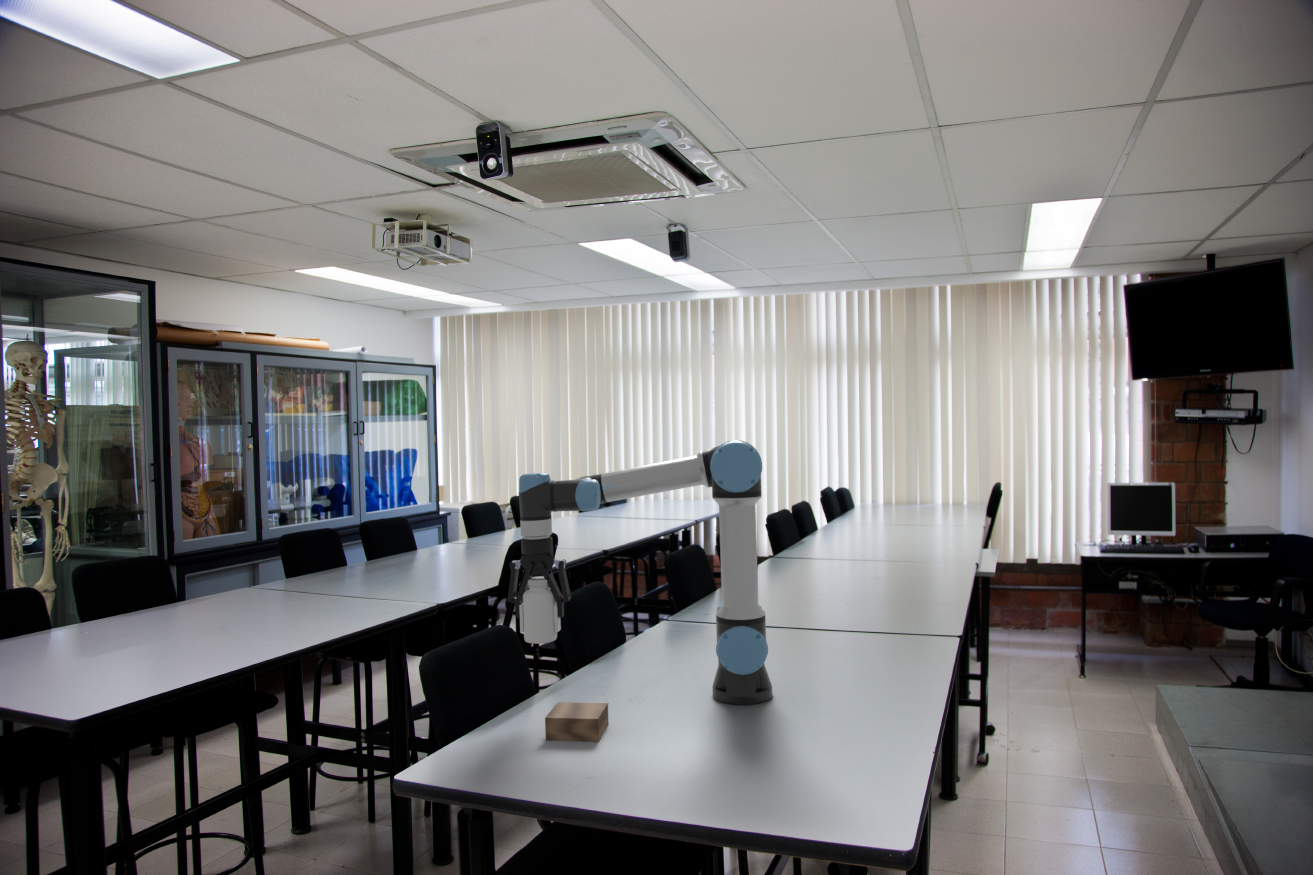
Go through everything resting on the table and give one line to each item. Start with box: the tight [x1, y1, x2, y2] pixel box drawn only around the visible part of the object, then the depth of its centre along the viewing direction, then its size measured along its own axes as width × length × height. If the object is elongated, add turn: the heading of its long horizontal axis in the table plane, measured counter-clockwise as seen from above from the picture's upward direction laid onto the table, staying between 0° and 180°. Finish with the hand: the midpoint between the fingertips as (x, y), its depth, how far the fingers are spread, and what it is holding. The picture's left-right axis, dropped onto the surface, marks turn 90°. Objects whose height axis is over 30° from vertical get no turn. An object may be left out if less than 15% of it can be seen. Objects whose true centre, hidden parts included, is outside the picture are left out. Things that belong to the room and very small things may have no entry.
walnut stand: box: [544, 701, 609, 743], centre depth 172 cm, size 12×10×5 cm
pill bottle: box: [522, 576, 558, 645], centre depth 185 cm, size 8×8×15 cm
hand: (540, 630), depth 185 cm, fingers closed on pill bottle, 8 cm apart
